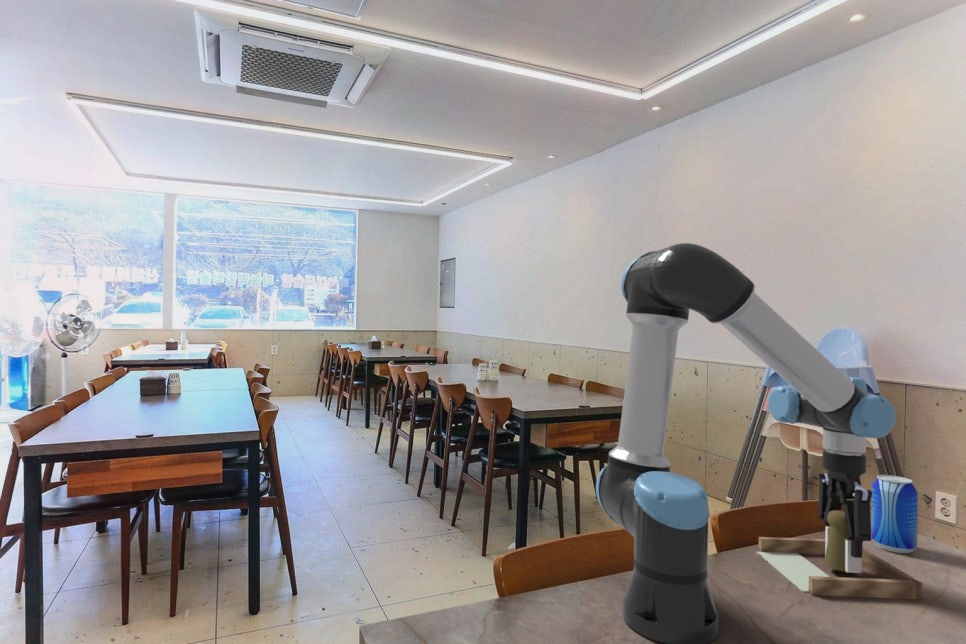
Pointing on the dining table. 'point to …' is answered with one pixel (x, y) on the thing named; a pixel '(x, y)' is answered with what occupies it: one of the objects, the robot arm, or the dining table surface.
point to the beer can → (894, 514)
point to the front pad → (793, 568)
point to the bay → (888, 587)
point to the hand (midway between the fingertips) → (842, 564)
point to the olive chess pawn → (836, 540)
